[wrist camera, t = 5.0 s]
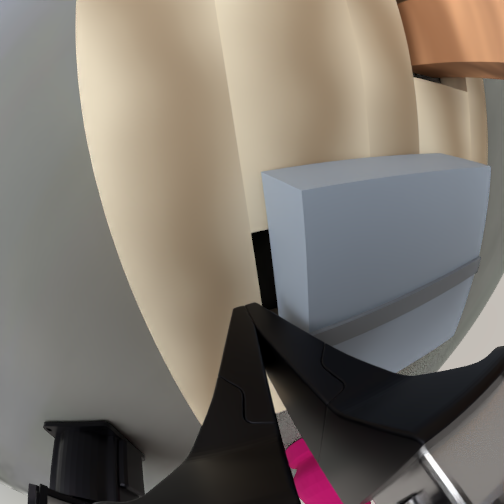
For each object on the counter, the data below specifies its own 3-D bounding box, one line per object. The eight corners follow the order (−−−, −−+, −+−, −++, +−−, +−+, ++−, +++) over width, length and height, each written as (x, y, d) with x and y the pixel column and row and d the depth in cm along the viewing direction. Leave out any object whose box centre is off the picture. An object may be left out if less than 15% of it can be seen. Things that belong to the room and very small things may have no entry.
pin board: (200, 406, 15) (205, 431, 14) (92, -26, 5) (81, -47, 3) (439, 312, 19) (454, 324, 17) (442, 5, 8) (463, 1, 7)
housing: (284, 366, 12) (309, 416, 10) (260, 171, 8) (304, 191, 6) (421, 307, 14) (455, 337, 11) (440, 153, 10) (493, 167, 7)
